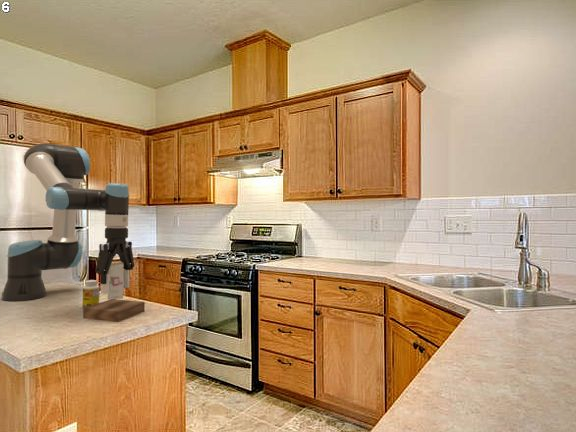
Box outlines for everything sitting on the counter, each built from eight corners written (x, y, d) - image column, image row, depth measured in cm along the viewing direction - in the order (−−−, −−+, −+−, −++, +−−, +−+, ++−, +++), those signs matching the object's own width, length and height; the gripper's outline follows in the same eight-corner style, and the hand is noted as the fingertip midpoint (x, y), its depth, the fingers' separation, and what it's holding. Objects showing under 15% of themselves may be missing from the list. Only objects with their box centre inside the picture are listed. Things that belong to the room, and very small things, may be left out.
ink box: (108, 294, 136) (109, 262, 136) (123, 293, 137) (124, 261, 137) (106, 299, 128) (107, 265, 128) (122, 299, 129) (123, 264, 129)
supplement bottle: (79, 308, 140) (79, 281, 140) (93, 305, 145) (93, 279, 145) (88, 310, 137) (88, 282, 137) (102, 307, 142) (102, 280, 142)
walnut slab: (83, 319, 128) (83, 307, 127) (112, 309, 141) (112, 298, 141) (118, 323, 124) (118, 311, 124) (144, 312, 138) (144, 301, 138)
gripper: (102, 228, 121) (101, 297, 121) (145, 226, 142) (144, 285, 142) (83, 227, 123) (82, 296, 123) (128, 226, 144) (127, 284, 144)
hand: (115, 290), depth 132 cm, fingers closed on ink box, 9 cm apart
